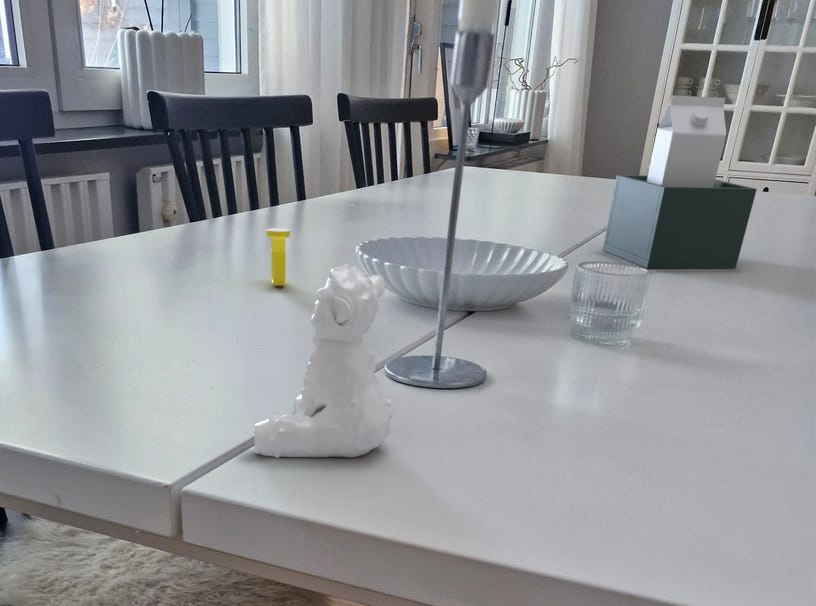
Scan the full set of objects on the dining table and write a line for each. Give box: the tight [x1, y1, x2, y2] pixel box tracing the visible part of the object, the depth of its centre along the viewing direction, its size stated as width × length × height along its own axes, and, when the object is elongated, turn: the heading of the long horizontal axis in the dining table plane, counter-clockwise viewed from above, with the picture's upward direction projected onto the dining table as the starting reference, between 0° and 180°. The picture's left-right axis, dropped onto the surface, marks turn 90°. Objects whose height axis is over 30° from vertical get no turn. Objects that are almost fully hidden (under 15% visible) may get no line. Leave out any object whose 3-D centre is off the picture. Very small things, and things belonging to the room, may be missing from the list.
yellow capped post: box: [265, 227, 291, 287], centre depth 104 cm, size 6×3×6 cm, turn 6°
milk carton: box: [647, 95, 727, 187], centre depth 124 cm, size 7×7×19 cm
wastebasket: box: [602, 174, 758, 270], centre depth 126 cm, size 14×14×10 cm
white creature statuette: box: [253, 263, 394, 459], centre depth 60 cm, size 10×9×12 cm
